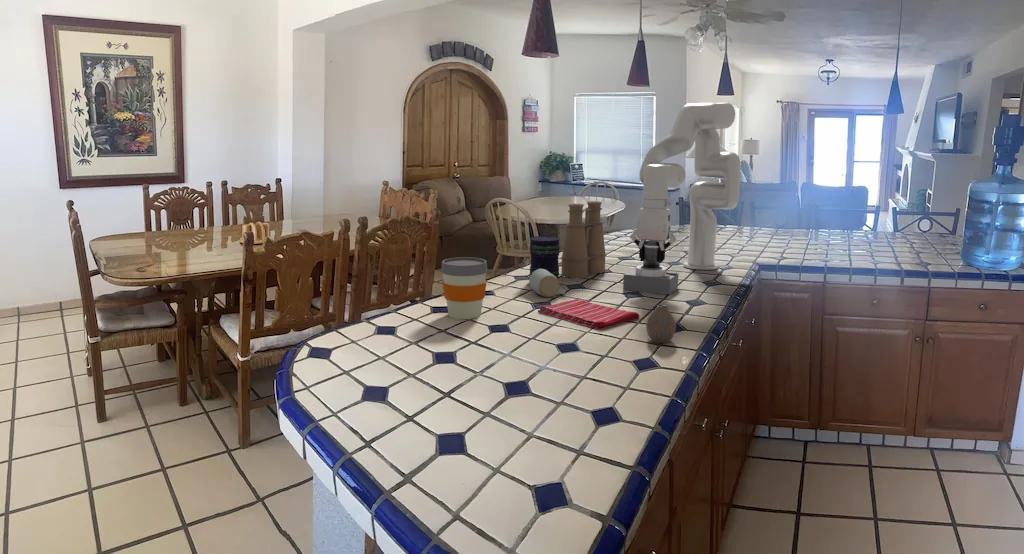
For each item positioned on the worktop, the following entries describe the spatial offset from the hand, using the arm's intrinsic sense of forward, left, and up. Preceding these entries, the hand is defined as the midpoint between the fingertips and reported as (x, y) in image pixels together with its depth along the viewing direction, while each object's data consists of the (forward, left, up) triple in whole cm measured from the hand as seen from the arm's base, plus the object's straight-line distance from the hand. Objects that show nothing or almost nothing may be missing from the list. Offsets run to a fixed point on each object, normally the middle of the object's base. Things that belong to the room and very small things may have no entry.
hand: (651, 260), depth 215 cm
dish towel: (+39, -6, -10) cm, 41 cm away
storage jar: (+8, -34, -10) cm, 36 cm away
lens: (0, 0, -2) cm, 2 cm away
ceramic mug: (+22, -26, -10) cm, 35 cm away
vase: (+52, +18, -10) cm, 56 cm away
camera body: (0, 0, -9) cm, 9 cm away
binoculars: (-12, -28, -9) cm, 32 cm away
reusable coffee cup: (+55, -36, -9) cm, 66 cm away
